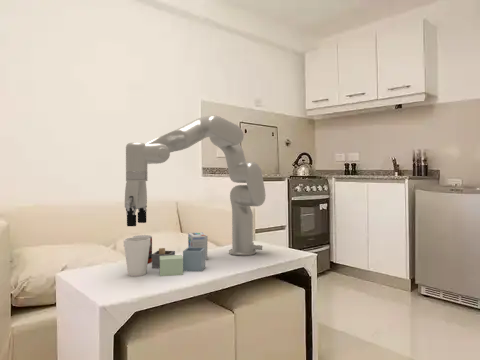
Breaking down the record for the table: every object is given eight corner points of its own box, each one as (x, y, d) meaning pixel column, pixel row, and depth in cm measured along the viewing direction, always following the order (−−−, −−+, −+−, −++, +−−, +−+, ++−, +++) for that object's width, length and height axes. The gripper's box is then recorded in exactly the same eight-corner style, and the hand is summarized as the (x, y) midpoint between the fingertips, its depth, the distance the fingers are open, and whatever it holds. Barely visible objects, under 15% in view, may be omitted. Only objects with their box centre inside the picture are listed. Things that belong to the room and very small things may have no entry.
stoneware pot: (205, 268, 144) (205, 247, 144) (201, 272, 137) (201, 251, 137) (187, 267, 145) (187, 247, 145) (183, 272, 138) (182, 251, 138)
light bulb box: (187, 257, 164) (187, 232, 164) (202, 256, 167) (202, 232, 166) (192, 262, 154) (192, 236, 154) (208, 261, 156) (208, 235, 156)
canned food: (147, 265, 148) (147, 238, 148) (128, 264, 150) (128, 237, 150) (155, 261, 156) (155, 235, 156) (137, 260, 157) (137, 234, 157)
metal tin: (174, 265, 149) (174, 250, 149) (169, 270, 142) (169, 254, 142) (158, 265, 149) (157, 250, 149) (152, 269, 142) (151, 254, 142)
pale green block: (181, 271, 139) (181, 254, 139) (182, 276, 133) (182, 258, 133) (159, 273, 137) (159, 255, 137) (160, 277, 131) (160, 259, 131)
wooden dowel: (165, 265, 146) (165, 248, 146) (164, 267, 144) (163, 249, 144) (160, 265, 146) (160, 248, 146) (158, 267, 144) (158, 249, 144)
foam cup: (151, 277, 131) (150, 240, 131) (123, 279, 128) (123, 241, 128) (149, 270, 140) (149, 236, 140) (124, 272, 138) (123, 237, 137)
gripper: (136, 177, 143) (136, 221, 143) (116, 177, 126) (116, 227, 126) (154, 177, 142) (155, 221, 142) (137, 177, 125) (137, 227, 125)
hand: (137, 224), depth 134 cm, fingers open, 9 cm apart
